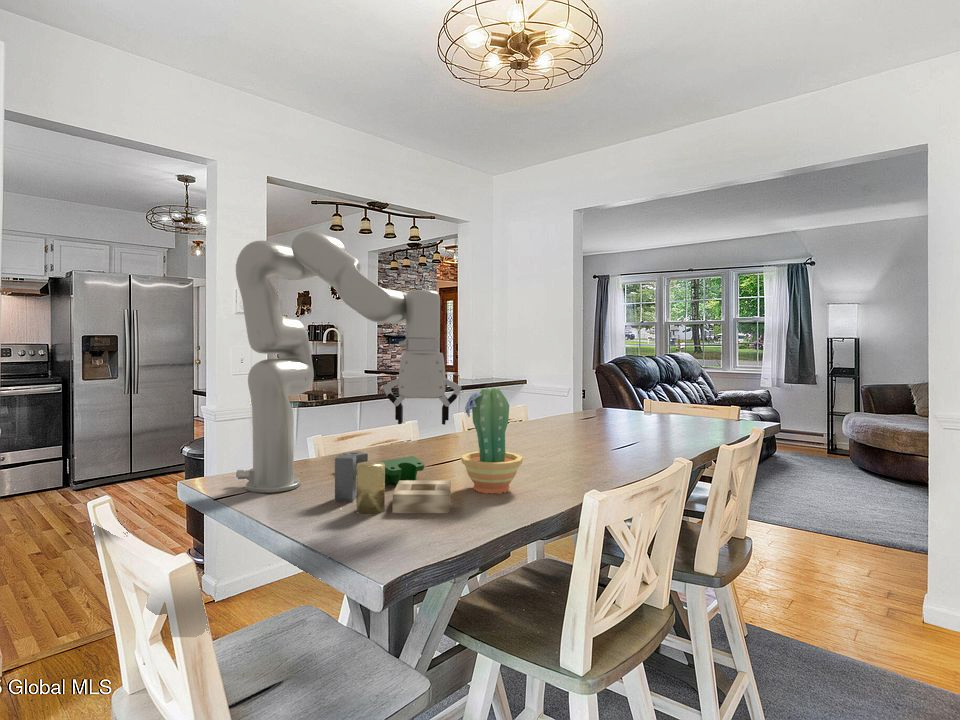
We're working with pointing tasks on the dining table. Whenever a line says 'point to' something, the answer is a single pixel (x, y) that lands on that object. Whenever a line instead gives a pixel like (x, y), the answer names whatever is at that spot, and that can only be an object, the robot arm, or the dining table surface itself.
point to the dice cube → (358, 457)
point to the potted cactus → (490, 443)
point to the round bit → (370, 487)
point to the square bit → (345, 478)
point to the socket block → (422, 496)
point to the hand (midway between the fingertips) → (422, 423)
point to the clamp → (402, 469)
